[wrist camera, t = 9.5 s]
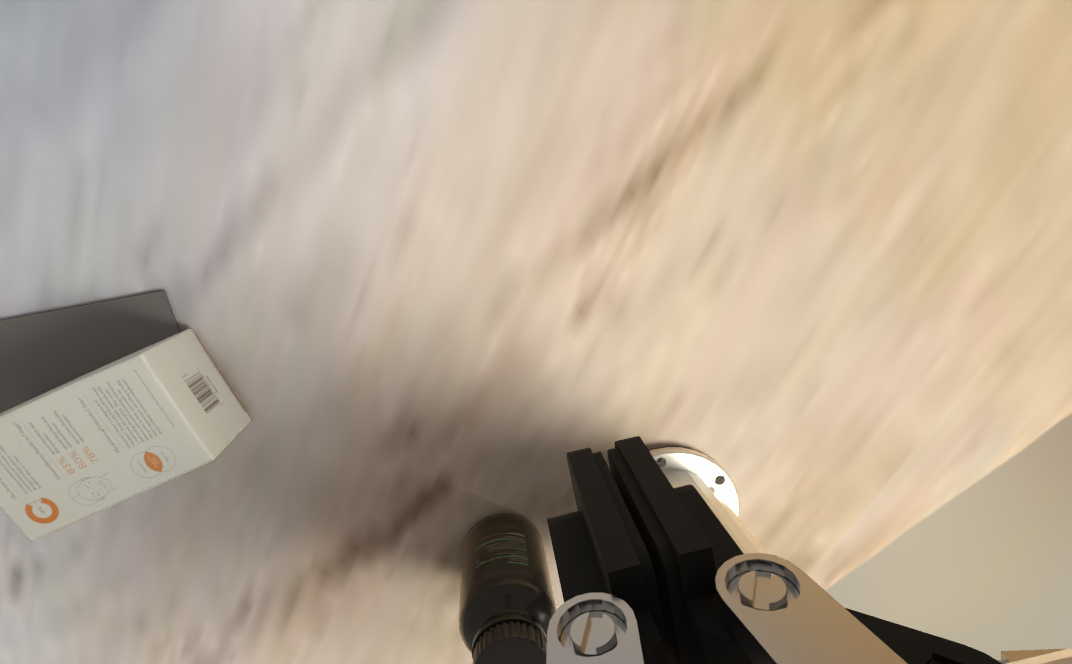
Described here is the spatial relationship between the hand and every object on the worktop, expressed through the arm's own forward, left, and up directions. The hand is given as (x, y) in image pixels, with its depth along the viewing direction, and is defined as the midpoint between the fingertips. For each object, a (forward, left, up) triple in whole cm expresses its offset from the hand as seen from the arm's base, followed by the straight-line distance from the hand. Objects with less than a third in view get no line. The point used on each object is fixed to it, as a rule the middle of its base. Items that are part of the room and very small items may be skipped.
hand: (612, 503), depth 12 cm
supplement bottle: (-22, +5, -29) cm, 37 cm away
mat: (-2, +31, -29) cm, 43 cm away
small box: (-2, +22, -26) cm, 34 cm away
